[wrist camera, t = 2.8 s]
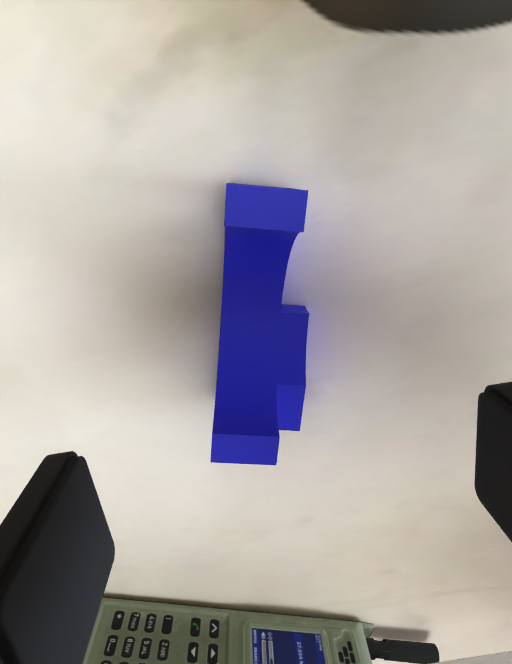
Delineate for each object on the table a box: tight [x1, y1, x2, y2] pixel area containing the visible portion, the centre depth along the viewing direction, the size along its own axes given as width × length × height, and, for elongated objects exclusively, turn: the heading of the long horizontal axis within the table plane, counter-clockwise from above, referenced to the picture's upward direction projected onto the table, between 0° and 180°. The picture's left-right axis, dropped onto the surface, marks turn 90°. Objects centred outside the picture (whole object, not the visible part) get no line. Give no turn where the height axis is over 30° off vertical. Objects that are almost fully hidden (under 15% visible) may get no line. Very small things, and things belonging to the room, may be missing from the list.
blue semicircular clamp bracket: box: [211, 183, 309, 465], centre depth 20 cm, size 12×4×6 cm, turn 175°
